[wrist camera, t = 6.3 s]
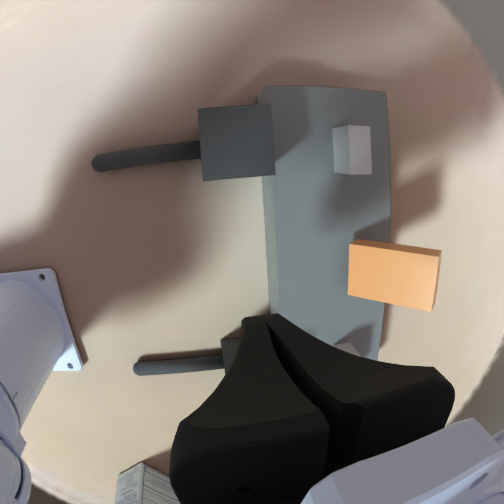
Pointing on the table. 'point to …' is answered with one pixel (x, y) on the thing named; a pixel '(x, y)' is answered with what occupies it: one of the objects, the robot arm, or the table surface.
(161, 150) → the plug
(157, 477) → the medicine box
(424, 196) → the table surface
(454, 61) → the table surface
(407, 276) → the orange rectangular block
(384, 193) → the power strip
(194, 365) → the plug
